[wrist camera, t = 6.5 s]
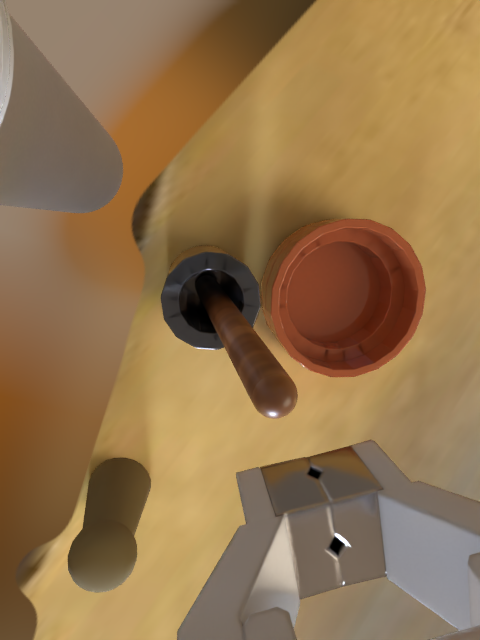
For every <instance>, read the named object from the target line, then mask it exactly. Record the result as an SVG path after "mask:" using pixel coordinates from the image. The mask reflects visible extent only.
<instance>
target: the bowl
mask: <svg viewBox="0 0 480 640" xmlns="http://www.w3.org/2000/svg"><path fill="white" fill-rule="evenodd" d="M425 293H426V287H425V281H424V276H423V270H422V266H421V264H420V262H419V260H418V258H417V256H416V254H415V253H414V251H413V249H412V247H411V245H410V244H409V243H408V242H407V241H406V240H404V239H403V238H402V237H401V236H400V235H399V234H398V233H397V232H395V231H394V230H393V229H392V228H390V227H387V226H385V225H382V224H380V223H377V222H375V221H372V220H369V219H326V220H322V221H318V222H315V223H312V224H309V225H305V226H303V227H301V228H300V229H299V230H297V231H296V232H294V233H293V234H292V235H290V236H289V237H287V238H286V239H285V240H284V241H283V242H282V243H281V244H280V246H279V247H278V248H277V250H276V251H275V252H274V254H273V255H272V256H271V258H270V259H269V262H268V265H267V267H266V270H265V273H264V276H263V279H262V285H261V306H262V310H263V313H264V317H265V320H266V324H267V326H268V327H269V329H270V330H271V331H272V333H273V334H274V336H275V337H276V339H277V340H278V342H279V343H280V344H281V345H282V347H283V348H284V349H285V350H286V351H287V353H288V354H289V355H290V356H291V357H292V358H293V359H295V360H296V361H297V362H299V363H300V364H301V365H303V366H304V367H305V368H307V369H308V370H310V371H313V372H316V373H319V374H323V375H326V376H329V377H355V376H358V375H361V374H364V373H367V372H370V371H373V370H376V369H379V368H380V367H381V366H383V365H384V364H386V363H387V362H389V361H390V360H392V359H393V358H394V357H396V356H397V355H398V354H399V353H400V352H401V351H402V349H403V348H404V347H405V346H406V344H407V343H408V342H409V341H410V340H411V338H412V337H413V335H414V333H415V331H416V329H417V326H418V324H419V322H420V319H421V317H422V315H423V309H424V301H425Z"/></svg>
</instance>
